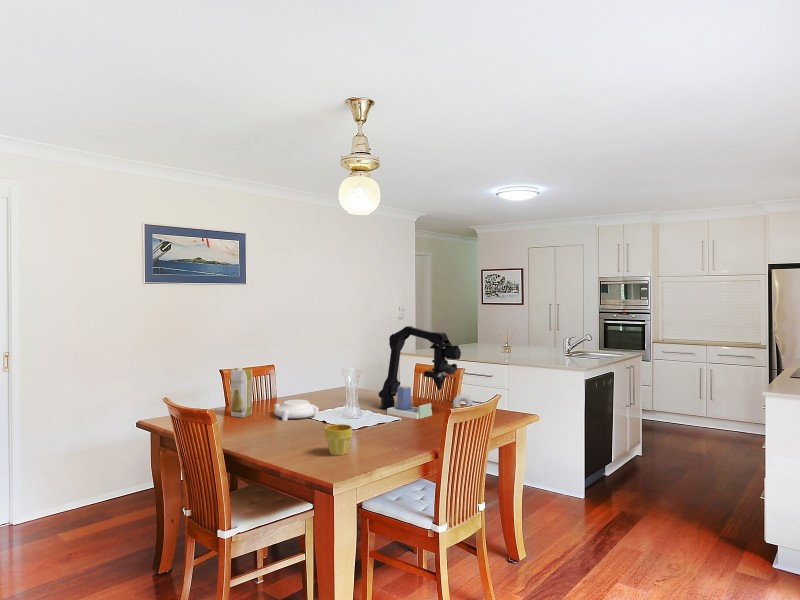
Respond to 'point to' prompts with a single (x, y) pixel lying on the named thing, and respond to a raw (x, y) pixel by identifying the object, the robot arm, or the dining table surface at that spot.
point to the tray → (421, 410)
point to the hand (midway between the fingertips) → (439, 390)
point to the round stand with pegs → (296, 409)
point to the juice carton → (241, 392)
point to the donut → (462, 398)
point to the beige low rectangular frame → (404, 412)
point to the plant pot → (338, 438)
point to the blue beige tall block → (403, 398)
